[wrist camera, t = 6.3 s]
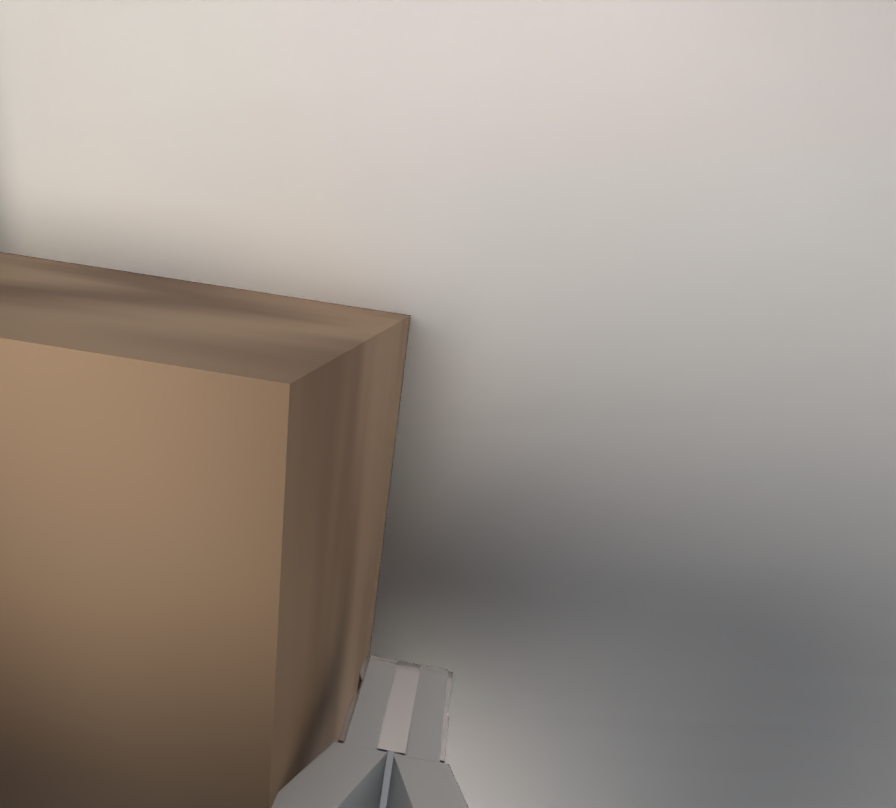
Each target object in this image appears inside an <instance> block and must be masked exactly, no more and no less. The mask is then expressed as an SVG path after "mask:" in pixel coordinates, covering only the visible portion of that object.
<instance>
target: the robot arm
mask: <svg viewBox="0 0 896 808" xmlns="http://www.w3.org/2000/svg"><path fill="white" fill-rule="evenodd" d="M452 673H453V672H450V671H447V669H441V668H435V667H430V666H424V665H419V664H414V663H408V662H404V661H396V660H392V659H387V658H383V657H378V656H373V655H371V656H368V655H367V656H366V658H365V659H364V662H363V665H362V668H361V671H360V674H359V681H358V689H357V695H356V696H354V697H353V698H352V699H351V702H350V705H349V708H348V711H347V714H346V717H345V720H344V724H343V727H342V730H341V733H340V736H339V739H338V742H332V743H331V744H330V745H329V746H328V747H327V748H326V749H325V750H324V751H323V752H321V753H320V754H319V755H318V756H317V757H316V758H315V759H314V760H313V761H312V762H310V763H309V764H308V765H307V766H306V767H305V768H304V769H303V770H302V771H301V772H299V773H298V774H297V775H296V776H295V777H294V778H293V779H292V780H291V781H290V782H289V783H287V784H286V785H285V786H284V787H283V788H282V789H281V790H280V791H279V792H278V793H277V796H276V798H275V801H274V803H273V805H272V808H469V807H468V805H467V803H466V800H465V798H464V796H463V794H462V792H461V790H460V787H459V785H458V783H457V781H456V779H455V777H454V774H453V772H452V770H451V768H450V766H449V764H445V763H444V762H445V753H446V742H447V732H448V722H449V717H448V715H447V712H448V707H449V701H450V695H451V688H452Z"/></svg>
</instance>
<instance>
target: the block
mask: <svg viewBox="0 0 896 808" xmlns="http://www.w3.org/2000/svg"><path fill="white" fill-rule="evenodd" d="M410 316H411V315H404V314H398V313H391V312H385V311H378V310H372V309H365V308H359V307H352V306H346V305H339V304H333V303H326V302H320V301H313V300H307V299H300V298H294V297H287V296H281V295H275V294H268V293H262V292H255V291H249V290H242V289H236V288H229V287H223V286H216V285H210V284H203V283H197V282H190V281H184V280H177V279H171V278H164V277H158V276H151V275H145V274H139V273H132V272H126V271H119V270H113V269H106V268H100V267H93V266H87V265H80V264H74V263H67V262H61V261H54V260H48V259H41V258H35V257H28V256H22V255H15V254H9V253H3V252H0V808H272V805H273V803H274V801H275V798H276V796H277V793H278V792H279V791H280V790H281V789H282V788H283V787H284V786H285V785H286V784H287V783H289V782H290V781H291V780H292V779H293V778H294V777H295V776H296V775H297V774H298V773H299V772H301V771H302V770H303V769H304V768H305V767H306V766H307V765H308V764H309V763H310V762H312V761H313V760H314V759H315V758H316V757H317V756H318V755H319V754H320V753H321V752H323V751H324V750H325V749H326V748H327V747H328V746H329V745H330V744H331V743H332V742H338V739H339V736H340V733H341V730H342V727H343V724H344V720H345V717H346V714H347V711H348V708H349V705H350V702H351V699H352V698H353V697H354V696H356V695H357V689H358V681H359V674H360V671H361V668H362V665H363V662H364V659H365V658H366V656H367V655H368V656H370V647H371V639H372V631H373V622H374V614H375V606H376V597H377V589H378V581H379V573H380V564H381V556H382V548H383V539H384V531H385V523H386V515H387V506H388V498H389V490H390V481H391V473H392V465H393V457H394V448H395V440H396V432H397V423H398V415H399V407H400V399H401V390H402V382H403V374H404V365H405V357H406V349H407V341H408V332H409V324H410Z"/></svg>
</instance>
